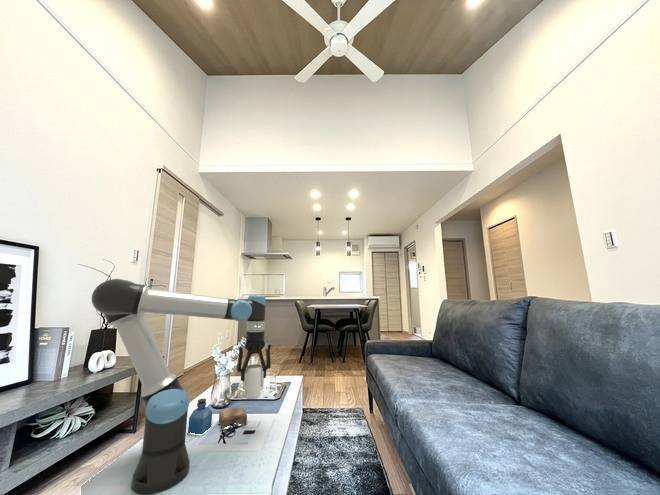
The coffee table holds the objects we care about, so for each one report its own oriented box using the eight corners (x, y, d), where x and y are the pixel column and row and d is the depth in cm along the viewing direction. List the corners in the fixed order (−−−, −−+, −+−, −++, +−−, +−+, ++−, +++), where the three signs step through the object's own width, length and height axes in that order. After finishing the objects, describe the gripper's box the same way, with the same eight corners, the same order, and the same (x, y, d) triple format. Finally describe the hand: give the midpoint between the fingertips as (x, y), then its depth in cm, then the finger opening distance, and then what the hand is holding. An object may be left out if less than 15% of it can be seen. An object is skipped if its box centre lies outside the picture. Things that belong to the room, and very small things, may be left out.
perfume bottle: (198, 427, 113) (200, 396, 116) (211, 428, 112) (213, 397, 114) (187, 434, 108) (190, 402, 110) (201, 436, 106) (203, 403, 108)
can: (255, 399, 108) (257, 368, 110) (241, 398, 109) (243, 367, 111) (263, 394, 114) (264, 364, 116) (249, 393, 116) (250, 363, 118)
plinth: (221, 430, 110) (222, 419, 111) (218, 420, 119) (219, 410, 120) (246, 425, 115) (247, 414, 116) (242, 416, 124) (242, 405, 124)
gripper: (233, 333, 108) (229, 394, 104) (279, 330, 117) (278, 386, 113) (230, 331, 115) (227, 388, 111) (275, 328, 124) (273, 381, 120)
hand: (253, 387), depth 112 cm, fingers closed on can, 6 cm apart
